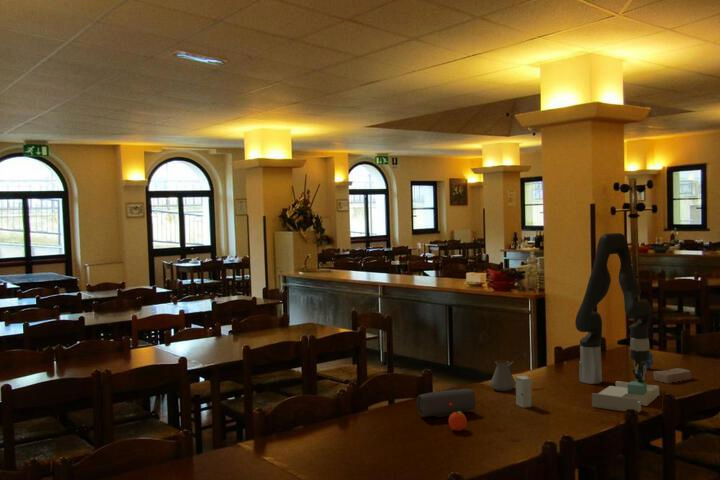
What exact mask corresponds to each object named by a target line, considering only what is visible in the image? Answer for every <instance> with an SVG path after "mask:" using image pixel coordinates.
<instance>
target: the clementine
mask: <svg viewBox="0 0 720 480" xmlns="http://www.w3.org/2000/svg"><path fill="white" fill-rule="evenodd" d="M467 423H468V420H467V417H466V415H465V414H464V411H463V412H460V411H458V412H454V413H452V414H451V415H450V416H448V425H449V427H450V428H451V429H452V430H453V431H457V432H460V431H463V430H464V429H465V428H466V427H467Z"/></svg>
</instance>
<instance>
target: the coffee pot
mask: <svg viewBox="0 0 720 480" xmlns="http://www.w3.org/2000/svg"><path fill="white" fill-rule="evenodd" d="M522 356H523V357H525V356H527V354H526V353H525V352H524V351H523V352H521V353H520V354H519V355H518V356H516V357H515V358H514V359H512V361H511V362H510V361H509V360H505V359H502V360H496V361H495V362H494V363H495V364H496V367H495V371H494V373H493V376H492V378H491V380H490V385H491V387H492V388H493V389H494V390H495V391H498V392H509V391H512V390H513V388H514V387H516V379H515V378H514V377H513V373H512V372H511V370H510V368H509V367H511V365H513V364H514V363H515V362H517V361H518V360H519V359H520V358H521V357H522Z"/></svg>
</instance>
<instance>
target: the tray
mask: <svg viewBox="0 0 720 480" xmlns="http://www.w3.org/2000/svg"><path fill="white" fill-rule="evenodd" d="M630 382H631V381H630ZM630 382H629V381H628V382H627V381H621V380H616V381H615V386H614V385H609V386H607V387H606V388H604V389H602V390H601V391H600V392H597V393H596V392H595V393H594V392H591V407H592V408H599V409H604V410H605V409H606V410H612V411H619V412H625V411H626V410H627V409H634V410H636V411H637V412H638V413H637V414H639V413H640V412H641V411H642V406H644V407H645V406H646V407H647V406H648V405H650V404H651V403H652V402H653V401H654V400H655V399H656V398H658V397H659V396H660V386H659V385H654V384H647V393H645V394H644V395H643V396H642V395H634V394H628V388H627V384H628V383H630ZM657 396H658V397H657Z"/></svg>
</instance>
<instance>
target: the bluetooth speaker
mask: <svg viewBox="0 0 720 480" xmlns="http://www.w3.org/2000/svg"><path fill="white" fill-rule="evenodd" d="M476 404H477V401H476V397H475V393H474V390H473V389H471V388H460V389H448V390H441V391H433V392H427V393H422V394H419V395H418V396H417V398H416V408H417V412H418V414H419V415H420V416H422V417H423V416H424V417H425V416H426V417H427V416H434V417H435V418H444V417H450V415H451V414H452V413H454V412H458V411H460V412H461V413H462V412H463V413H464V412H467V411H472V410H474V409H475V408H476Z"/></svg>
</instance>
